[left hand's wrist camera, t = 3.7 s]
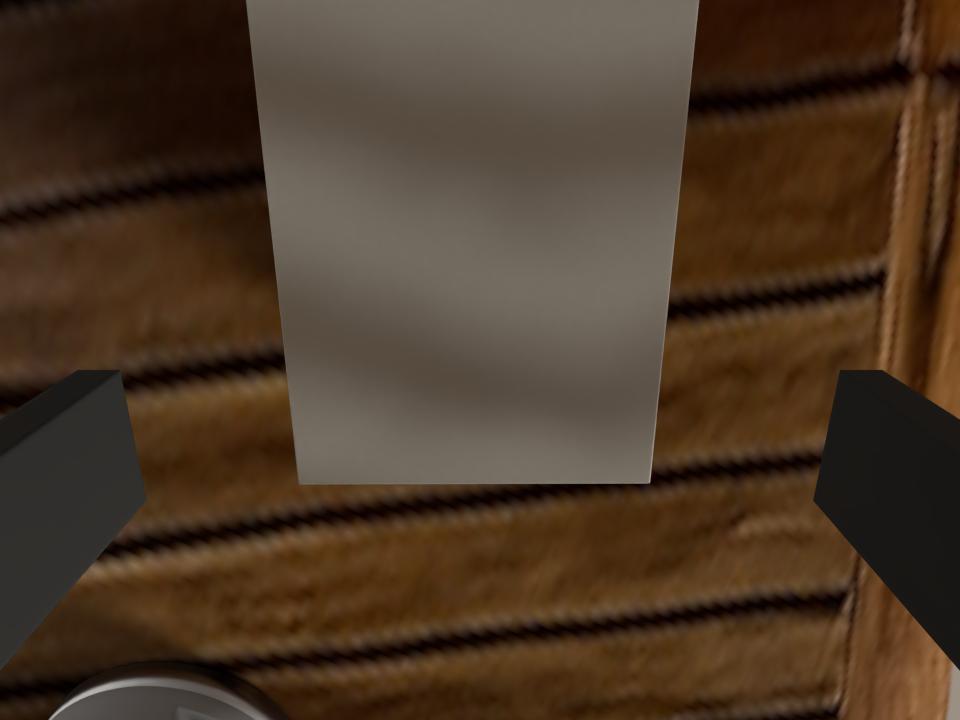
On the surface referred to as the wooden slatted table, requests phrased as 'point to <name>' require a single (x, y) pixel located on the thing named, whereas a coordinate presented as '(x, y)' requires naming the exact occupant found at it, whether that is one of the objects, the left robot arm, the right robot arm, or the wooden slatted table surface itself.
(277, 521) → the wooden slatted table surface
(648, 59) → the cabinet
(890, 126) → the wooden slatted table surface
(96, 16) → the wooden slatted table surface
